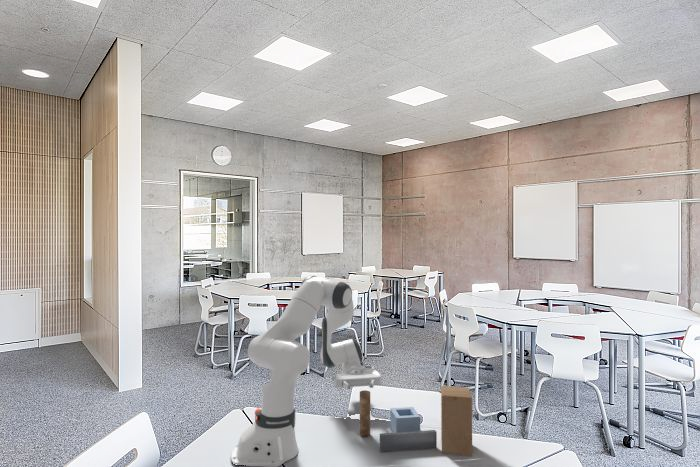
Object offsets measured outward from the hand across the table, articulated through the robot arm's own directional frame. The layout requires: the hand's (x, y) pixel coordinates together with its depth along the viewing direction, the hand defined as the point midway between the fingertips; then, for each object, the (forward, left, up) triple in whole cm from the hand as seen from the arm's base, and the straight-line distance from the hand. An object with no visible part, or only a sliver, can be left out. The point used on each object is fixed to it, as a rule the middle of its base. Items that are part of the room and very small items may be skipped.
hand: (360, 386), depth 164 cm
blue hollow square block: (+15, -14, -14) cm, 24 cm away
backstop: (+13, -18, -14) cm, 26 cm away
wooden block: (+30, -26, -14) cm, 42 cm away
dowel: (0, -12, -14) cm, 19 cm away
